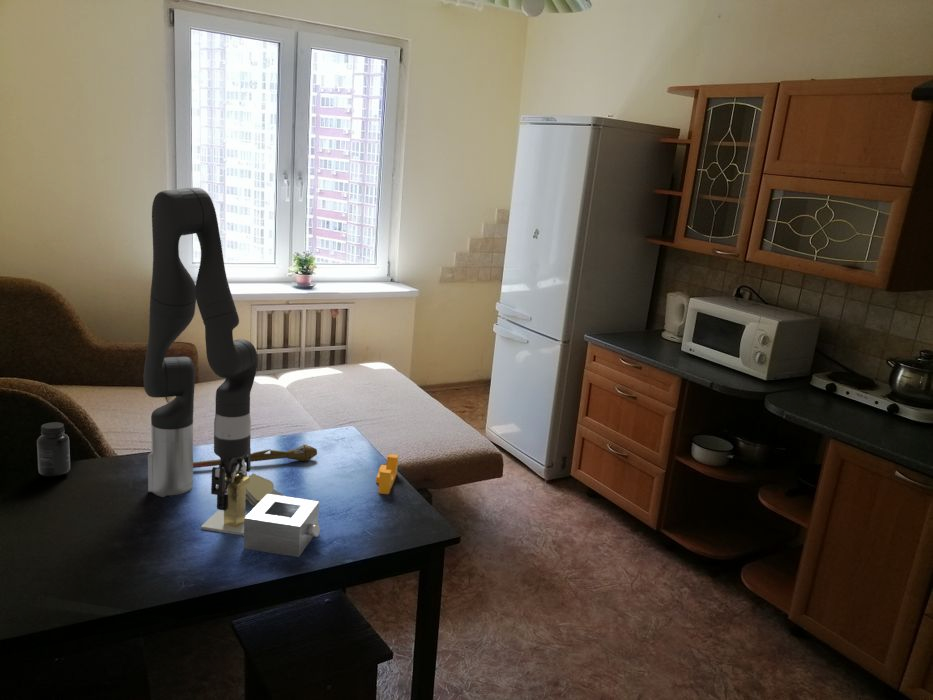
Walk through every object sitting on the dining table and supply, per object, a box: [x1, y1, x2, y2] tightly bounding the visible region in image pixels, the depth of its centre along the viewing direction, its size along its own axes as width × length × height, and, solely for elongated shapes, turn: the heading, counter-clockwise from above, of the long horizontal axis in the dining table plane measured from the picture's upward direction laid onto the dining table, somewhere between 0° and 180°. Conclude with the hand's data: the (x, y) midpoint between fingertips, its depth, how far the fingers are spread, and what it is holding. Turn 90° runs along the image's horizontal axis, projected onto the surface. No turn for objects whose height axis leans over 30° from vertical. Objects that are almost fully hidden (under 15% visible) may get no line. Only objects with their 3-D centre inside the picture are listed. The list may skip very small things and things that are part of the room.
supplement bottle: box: [36, 421, 71, 477], centre depth 174 cm, size 7×7×12 cm
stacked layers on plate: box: [245, 473, 285, 507], centre depth 169 cm, size 10×9×6 cm
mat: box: [200, 509, 248, 537], centre depth 158 cm, size 10×8×1 cm
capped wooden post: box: [223, 474, 250, 528], centre depth 157 cm, size 4×4×11 cm
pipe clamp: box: [375, 453, 399, 495], centre depth 184 cm, size 12×4×6 cm, turn 175°
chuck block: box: [243, 494, 321, 558], centre depth 153 cm, size 14×12×7 cm
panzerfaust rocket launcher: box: [193, 444, 318, 469], centre depth 189 cm, size 5×35×5 cm, turn 113°
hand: (231, 500), depth 157 cm, fingers open, 8 cm apart
